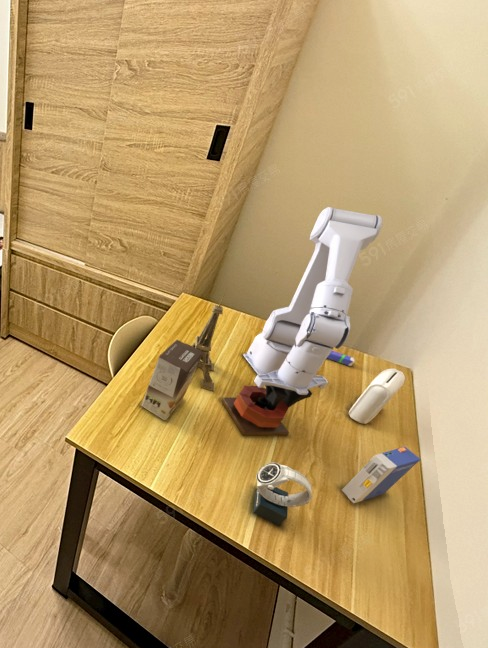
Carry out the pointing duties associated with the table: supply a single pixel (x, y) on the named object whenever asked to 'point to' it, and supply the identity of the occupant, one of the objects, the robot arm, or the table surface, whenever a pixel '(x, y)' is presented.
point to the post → (249, 427)
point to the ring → (258, 408)
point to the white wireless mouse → (377, 395)
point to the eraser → (341, 358)
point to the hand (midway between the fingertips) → (274, 406)
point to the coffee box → (171, 378)
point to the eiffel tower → (207, 347)
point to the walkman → (380, 474)
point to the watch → (278, 492)
